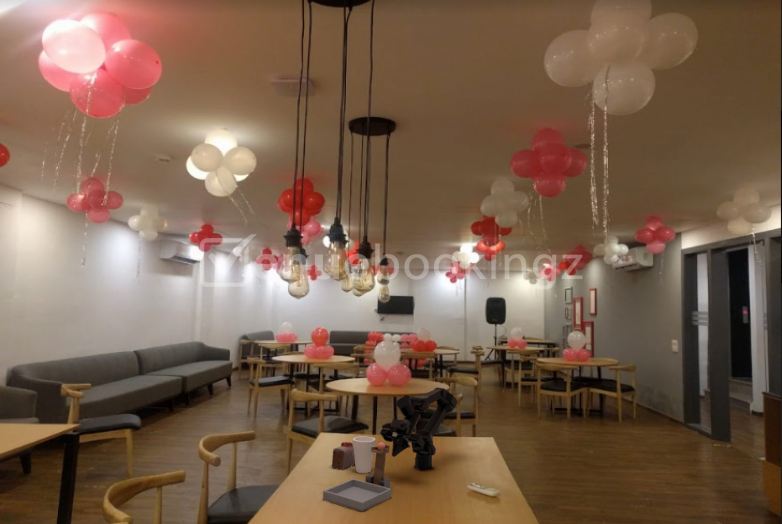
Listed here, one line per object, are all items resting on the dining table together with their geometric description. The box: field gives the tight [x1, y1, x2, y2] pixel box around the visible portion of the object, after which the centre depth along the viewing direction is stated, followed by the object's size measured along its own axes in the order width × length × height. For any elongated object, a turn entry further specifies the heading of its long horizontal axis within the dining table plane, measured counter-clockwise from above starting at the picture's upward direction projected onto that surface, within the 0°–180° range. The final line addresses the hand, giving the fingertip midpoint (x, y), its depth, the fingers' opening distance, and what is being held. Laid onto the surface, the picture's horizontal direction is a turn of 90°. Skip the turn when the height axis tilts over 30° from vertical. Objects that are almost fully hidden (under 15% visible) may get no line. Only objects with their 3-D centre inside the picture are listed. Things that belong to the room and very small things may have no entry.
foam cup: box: [352, 435, 376, 474], centre depth 223 cm, size 10×9×13 cm
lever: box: [371, 444, 391, 485], centre depth 202 cm, size 5×5×15 cm
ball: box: [376, 441, 386, 450], centre depth 204 cm, size 3×3×3 cm
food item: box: [331, 441, 355, 471], centre depth 230 cm, size 14×8×10 cm, turn 153°
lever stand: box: [365, 473, 392, 489], centre depth 201 cm, size 4×9×4 cm, turn 55°
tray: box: [322, 478, 393, 513], centre depth 191 cm, size 17×18×3 cm
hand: (393, 456), depth 210 cm, fingers closed
